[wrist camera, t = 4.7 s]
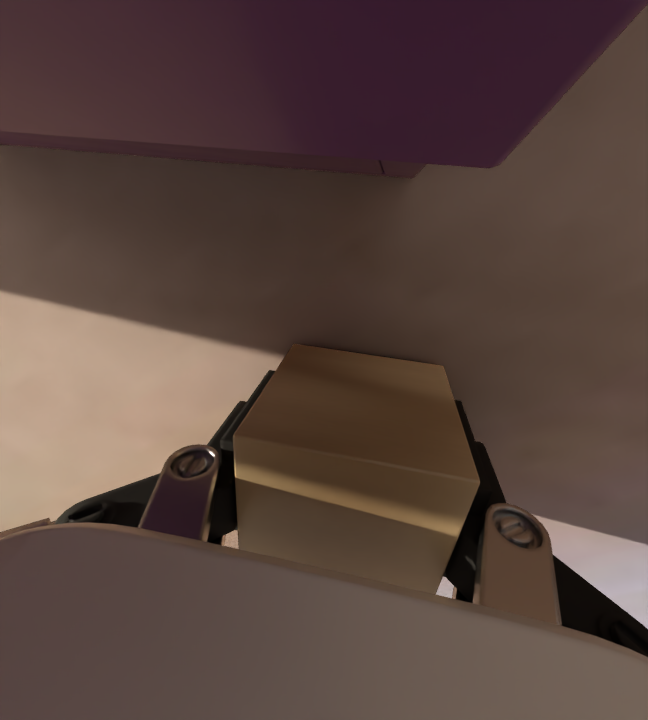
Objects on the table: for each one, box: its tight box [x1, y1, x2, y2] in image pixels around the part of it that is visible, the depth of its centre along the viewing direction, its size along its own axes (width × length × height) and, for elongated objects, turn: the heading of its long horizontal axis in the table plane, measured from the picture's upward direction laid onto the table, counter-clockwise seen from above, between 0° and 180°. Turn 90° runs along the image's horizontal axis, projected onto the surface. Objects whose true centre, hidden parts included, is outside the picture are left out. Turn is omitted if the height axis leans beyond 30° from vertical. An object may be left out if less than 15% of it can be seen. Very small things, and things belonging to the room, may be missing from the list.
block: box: [233, 344, 480, 594], centre depth 10 cm, size 5×5×5 cm
